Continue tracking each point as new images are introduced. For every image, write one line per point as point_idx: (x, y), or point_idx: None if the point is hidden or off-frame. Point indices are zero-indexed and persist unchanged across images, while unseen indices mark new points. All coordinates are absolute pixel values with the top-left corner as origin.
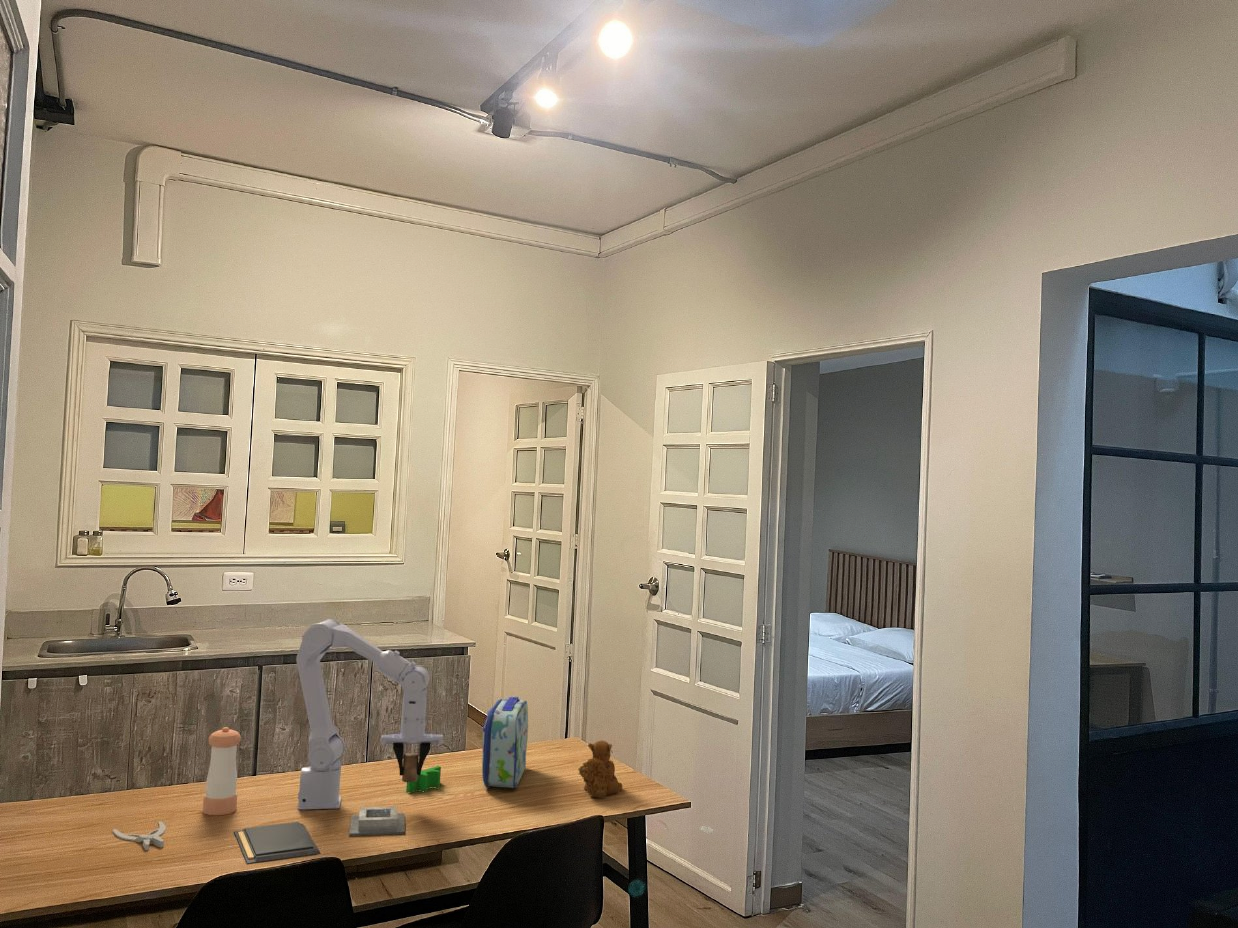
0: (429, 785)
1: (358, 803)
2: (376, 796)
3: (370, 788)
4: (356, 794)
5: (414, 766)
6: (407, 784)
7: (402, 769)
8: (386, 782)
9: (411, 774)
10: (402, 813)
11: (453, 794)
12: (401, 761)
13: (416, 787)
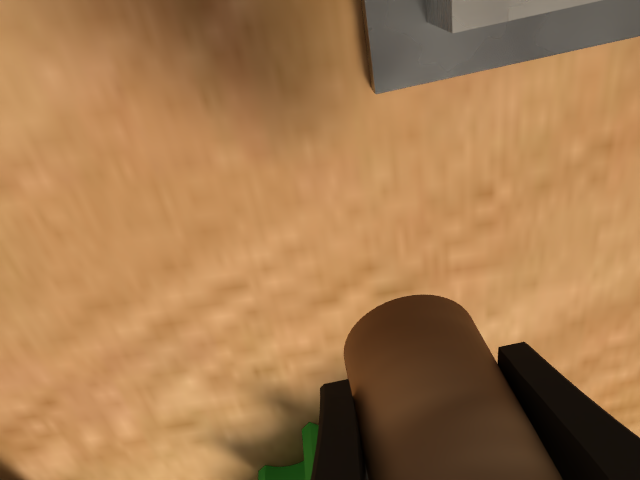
0: (301, 472)
1: (629, 253)
2: None
3: None
4: (617, 353)
5: (410, 443)
6: None
7: (537, 388)
8: None
9: (413, 355)
10: (386, 86)
11: (167, 423)
12: (626, 473)
13: None
